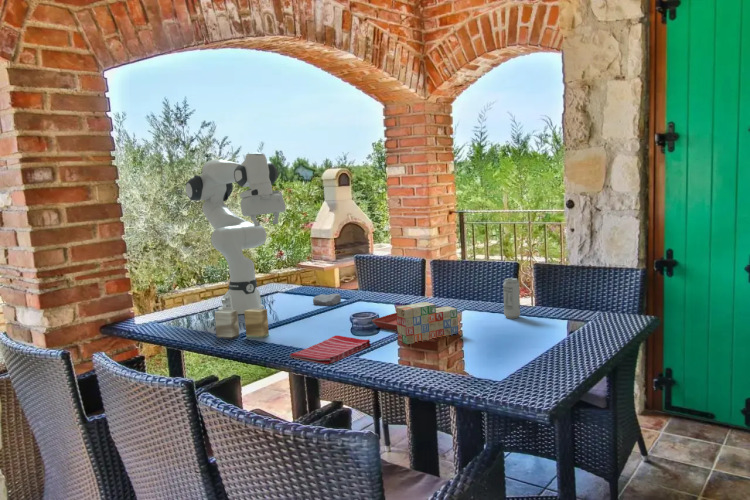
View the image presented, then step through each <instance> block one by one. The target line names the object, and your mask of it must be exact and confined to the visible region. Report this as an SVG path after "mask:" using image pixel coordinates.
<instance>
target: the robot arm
mask: <svg viewBox="0 0 750 500" xmlns="http://www.w3.org/2000/svg"><path fill="white" fill-rule="evenodd" d="M201 172H202V174H200V175H197V174H195V175H194V176H193V177H191V178H190V179H188V181H187V182H186V184H185V193H186V197H188V198H189V200H190V201H193V202H199V201H205V202H203V205H202V207H201V208H202V214H203V215H204V217H205V218H206V220H207V221H208V222H209V224H210V225H211V226H212V227H213V229H214V230H213V231H212V234H211V237H210V242H211V245H212V246H213V248H214V249H215V250H216V251H218V252H219V253H220V254H221V255H222V256H223V257H224V258H225V260H226V263H227V266H228V272H229V281H228V282H227V284H228V289H227V291H226V293H225V294H224V295H223V296H222V299H221V304H222V306H219V307H217V311H220V310H237V313H238V315H245V313H244V311H246V310H248V309H251V308H253V309H265V305H264V304H262V300H261V299H262V297H261V294H260V290H259V289H258V288H257V287H258V282H257V278H256V271H255V270H256V269H255V263H254V261H253V260H252V259H251V258H249V257H246V256H245V255H244V253H243V250H249V249H254V248H257V247H260V246H263V245H264V244H265V242H266V240H267V231H266V229H265V228H264V226H263V225H262V224H261V223H260V221H258V219H257V216H259V215H260V216H261V215H269V214H273V216H274V218H273V219H272V224H273V225H278V224H279V217H280V213H283V212H285V211H286V209H287V208H286V204H285V200H284V198H283V197H284V196H283V193H282V192H281V191H280V190H277V189H276V190H273V187H272V186H273V185H274V184H275V183H276V181H277V179H278V177H279V171H278V168H277V167H276V165H275V164H273V163H272V162H271V161H268V160H267V157H266V155H265V153H263V152H248V153H247V154H246V155H245V157H244V160H243V162H241V163H239V162H234V161H230V160H225V159H220V158H219V159H217V158H216V159H211V160H208V161H206V162H205V163H204V164H203V166H202V171H201ZM233 183H236V184H237V185H238V186H239V187H242V188H247V187H248V189H247V190H244V191H242V192H240V194H239V197H240V199H241V200H240V211H241V214H242V216H243V217H250V219H251V221H252V222H250V221H248V220H246V219H244V218H242V217H240V216H238V215H237V214H235V213H234V212H233V210H231V208H229V207H228V206H227V205H226V203H225V202H227V201H228V200H229V197H230V196H231V195H232V192H233V188H234V187H233V186H234V185H233Z"/></svg>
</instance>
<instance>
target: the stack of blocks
mask: <svg viewBox="0 0 750 500" xmlns="http://www.w3.org/2000/svg"><path fill="white" fill-rule="evenodd" d="M395 308H396V313H397V329H398V331H397V341H398V342H400V343H402V344H405V345H409V344H410V345H412V344H416V343H415V342H417V343H419V342H418V341H422V342H424V341H423V340H427V341H429V340H428V339H430V338H432V337H437V336H442V335H451V336H454V335H453V334H456V335H458V334H459V317H458V308H455V307H450V306H448V305H447V306H441V307H437V306H436V304H435V303H433V302H432V303H431V302H427V301H422V302H417V303H411V304H407V305H406V304H405V305H400V306H396V307H395ZM457 333H458V334H457Z"/></svg>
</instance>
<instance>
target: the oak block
mask: <svg viewBox="0 0 750 500" xmlns="http://www.w3.org/2000/svg"><path fill="white" fill-rule="evenodd" d="M244 313H245V314H244V322H245V323H244V325H245V334H246V335H245V336H246V338H251V339H252V338H254V339H264V338H265V337H268V336H270V333H269V330H270V329H269V317H268V309H267V308H262V309H253V308H251V309H248V310H246V311H244Z"/></svg>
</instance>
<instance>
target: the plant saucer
mask: <svg viewBox="0 0 750 500" xmlns="http://www.w3.org/2000/svg"><path fill="white" fill-rule="evenodd" d="M371 322H372V323H373V324H374V325H375V326H376V327H378V328H380V329H387V330H391V331H397V332H398V329H397V312H394V313H391V314H387V315H385V316H384V315H383V316H380V317H377V318H374V319H371Z"/></svg>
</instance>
